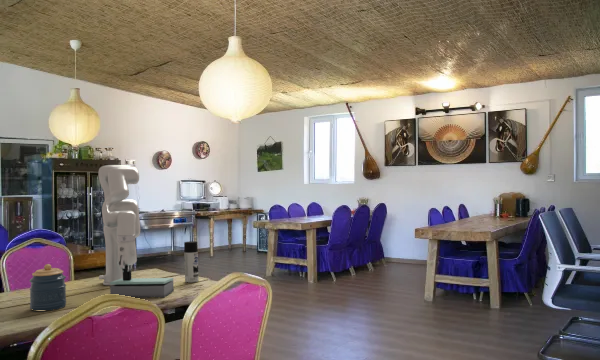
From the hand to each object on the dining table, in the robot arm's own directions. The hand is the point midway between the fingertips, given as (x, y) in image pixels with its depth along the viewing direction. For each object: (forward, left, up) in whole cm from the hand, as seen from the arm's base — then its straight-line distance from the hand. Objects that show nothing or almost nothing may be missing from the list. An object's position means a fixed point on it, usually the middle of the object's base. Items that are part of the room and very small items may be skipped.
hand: (127, 280), depth 209 cm
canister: (-23, -22, -7) cm, 32 cm away
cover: (+7, 0, -1) cm, 7 cm away
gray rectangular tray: (+7, 0, -7) cm, 9 cm away
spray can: (+21, +28, -7) cm, 36 cm away
